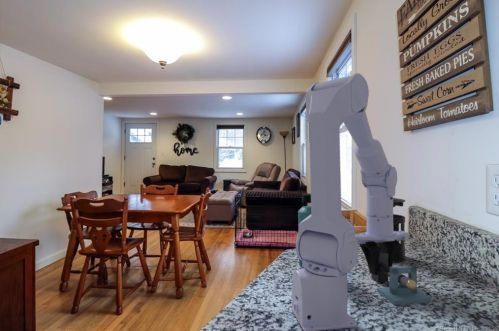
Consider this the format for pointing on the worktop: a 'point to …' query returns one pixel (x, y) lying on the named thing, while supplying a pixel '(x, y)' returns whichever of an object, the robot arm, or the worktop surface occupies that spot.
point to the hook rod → (385, 273)
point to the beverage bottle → (304, 213)
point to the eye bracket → (401, 293)
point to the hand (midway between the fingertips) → (379, 272)
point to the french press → (396, 221)
